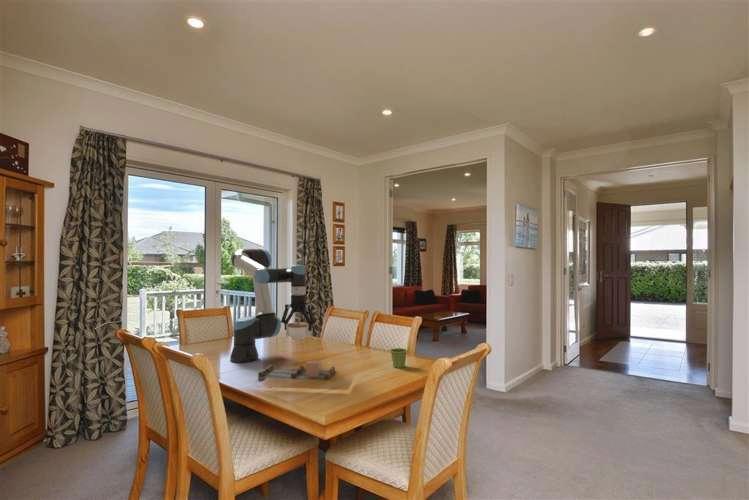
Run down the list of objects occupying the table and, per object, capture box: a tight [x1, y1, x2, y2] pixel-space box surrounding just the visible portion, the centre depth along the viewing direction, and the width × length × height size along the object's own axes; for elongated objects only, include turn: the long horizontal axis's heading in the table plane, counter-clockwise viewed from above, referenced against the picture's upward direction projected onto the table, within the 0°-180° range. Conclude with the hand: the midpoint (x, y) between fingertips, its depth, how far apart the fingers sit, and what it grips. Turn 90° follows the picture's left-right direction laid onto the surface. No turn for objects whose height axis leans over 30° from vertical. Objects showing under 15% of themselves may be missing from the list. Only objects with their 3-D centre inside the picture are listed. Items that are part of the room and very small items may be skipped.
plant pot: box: [389, 347, 409, 369], centre depth 216 cm, size 9×9×9 cm
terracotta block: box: [305, 359, 322, 376], centre depth 196 cm, size 6×6×6 cm
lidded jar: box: [288, 320, 308, 341], centre depth 215 cm, size 11×11×9 cm
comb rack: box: [257, 364, 336, 381], centre depth 197 cm, size 15×33×4 cm, turn 83°
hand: (298, 336), depth 215 cm, fingers closed on lidded jar, 11 cm apart
